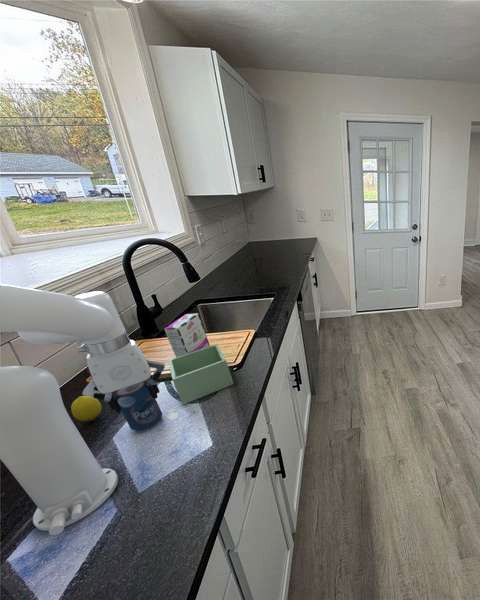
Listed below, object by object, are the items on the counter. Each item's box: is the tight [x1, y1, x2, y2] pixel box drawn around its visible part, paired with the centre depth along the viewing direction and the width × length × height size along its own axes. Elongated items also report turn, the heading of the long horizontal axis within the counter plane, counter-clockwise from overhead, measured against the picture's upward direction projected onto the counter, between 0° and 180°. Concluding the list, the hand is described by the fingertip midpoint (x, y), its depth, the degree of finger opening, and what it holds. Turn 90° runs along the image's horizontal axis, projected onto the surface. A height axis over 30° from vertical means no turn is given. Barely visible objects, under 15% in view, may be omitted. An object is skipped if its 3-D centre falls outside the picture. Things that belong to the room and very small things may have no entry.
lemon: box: [70, 395, 102, 422], centre depth 85 cm, size 6×6×8 cm
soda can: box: [115, 381, 163, 433], centre depth 81 cm, size 7×7×12 cm
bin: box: [167, 343, 235, 406], centre depth 97 cm, size 14×14×9 cm
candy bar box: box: [163, 312, 211, 358], centre depth 108 cm, size 11×5×16 cm, turn 179°
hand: (137, 402), depth 81 cm, fingers closed on soda can, 7 cm apart
